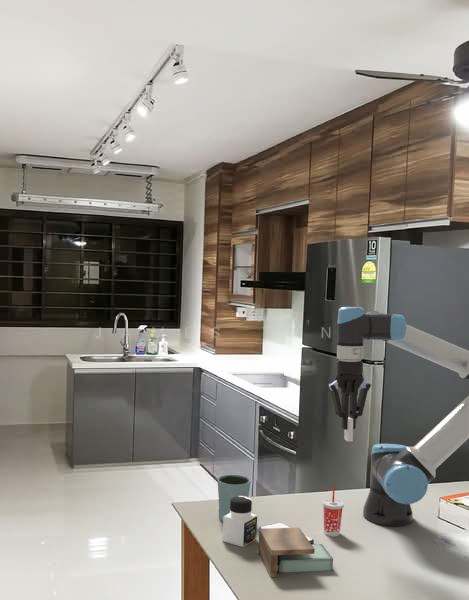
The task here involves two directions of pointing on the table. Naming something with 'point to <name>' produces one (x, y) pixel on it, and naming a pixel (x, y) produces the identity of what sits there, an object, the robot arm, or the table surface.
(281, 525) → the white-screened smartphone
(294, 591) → the table surface
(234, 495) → the teal tapered cup
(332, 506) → the beverage cup
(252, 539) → the medicine bottle
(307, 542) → the walnut shelf
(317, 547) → the bevelled sage-green slab
